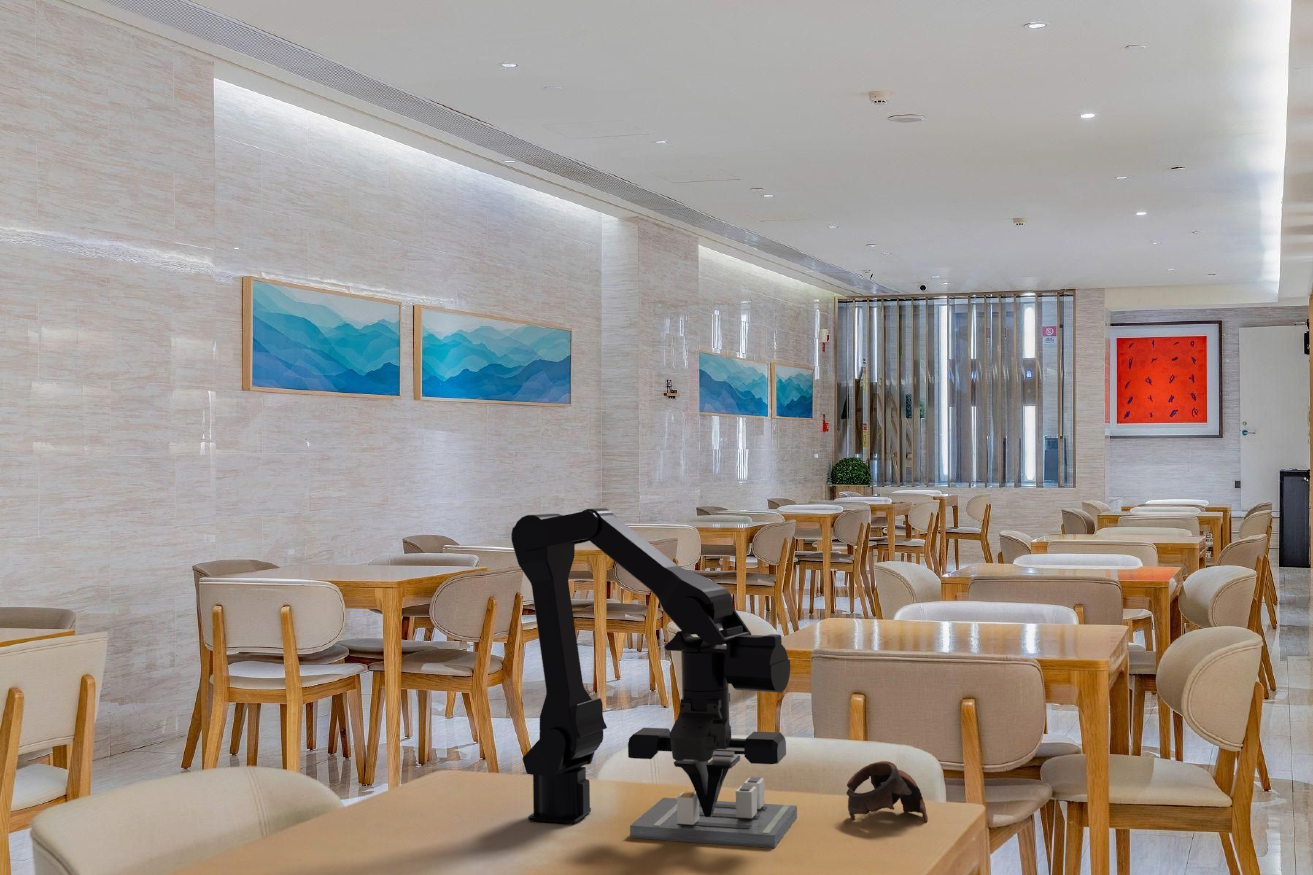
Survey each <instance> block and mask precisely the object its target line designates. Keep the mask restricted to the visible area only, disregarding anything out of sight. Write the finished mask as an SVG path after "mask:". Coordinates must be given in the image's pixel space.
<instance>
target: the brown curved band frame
mask: <svg viewBox="0 0 1313 875" xmlns="http://www.w3.org/2000/svg"><path fill="white" fill-rule="evenodd" d="M867 780H870V784H871V785H872V786H873V789H872V790H869V791H866V792H856V790H857V789H858V787H860V786H861V785H862V784H864V782H866V781H867ZM846 786H847V788H848V789H847V791H846V795H847V796H848V798H847V810H848V814H849V817H850V818H851V820H855V819H856V816H855V815H869V813H874V812H878V811H880V810H882V809H889V810H892V811H893V810H894V811H895V806H894V805H895V804H897V802H898V801H900V804H901V805H902V811H903V813H906V814H907V813H918V814H921V815H922V822H923V823H928V820H929V818H928V814H927V809H926V803H925V801H924V798H923V796H922V792H921V788H919V786H918V785H917V782H916V781H915V779H914V778H913V777H912V776H911V775H910V774H909V773H907V772H906V771H904V770H902V769H898V767H897V765H896V764H895V763H893V762H891V761H886V760H884V761H883V760H881V761H877V762H873V763H870V764H867V765H866V766H863V767H862V768H861V769H860V770H859V769H858V771H856V772H855V773H854V774H853V775H852V776H851V777H850V779H849V780H848V782H847V784H846Z"/></svg>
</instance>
